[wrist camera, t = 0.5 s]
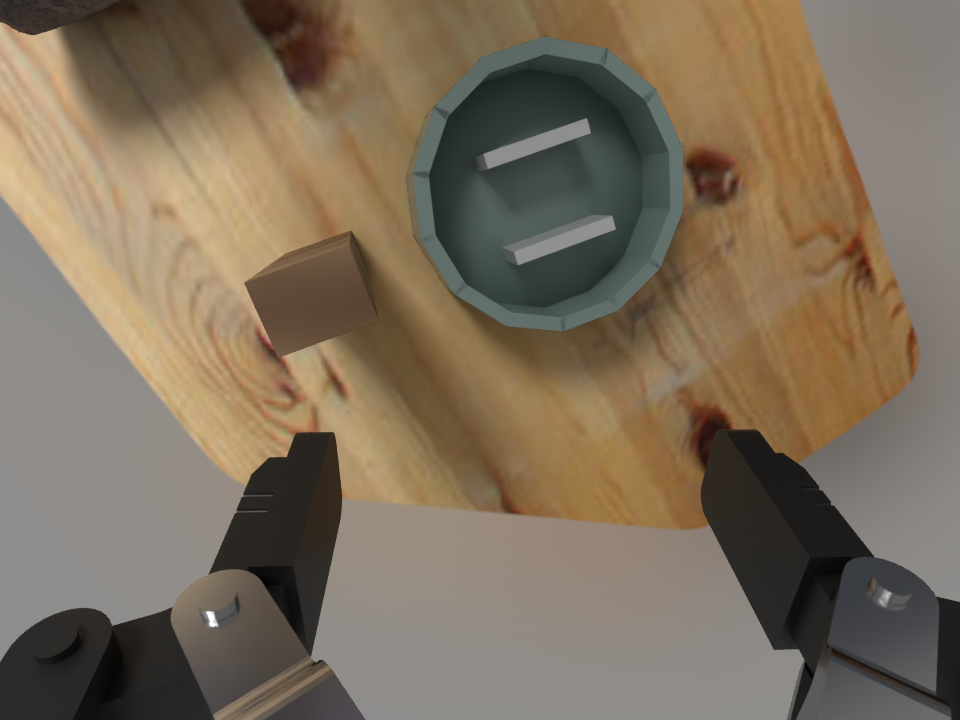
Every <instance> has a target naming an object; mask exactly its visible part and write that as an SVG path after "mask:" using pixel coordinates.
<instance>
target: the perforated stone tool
mask: <svg viewBox="0 0 960 720" xmlns="http://www.w3.org/2000/svg"><path fill="white" fill-rule="evenodd" d="M119 1H121V0H0V22H2V23H5V24H7V25H9V26H10V27H11V28H13V29H15V30H17V31H19V32H22V33H26V34H30V35H37V34H40V33H43V32H47V31H50V30H52V29H56V28H58V27H61V26H65V25H68V24H71V23H73V22H76V21H78V20H81V19H83V18H85V17H87V16H90V15H92V14H95V13H97V12H99V11H102V10H103V9H106V8H107V7H109V6H111V5H113V4H115V3H117V2H119Z"/></svg>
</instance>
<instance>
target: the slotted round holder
mask: <svg viewBox="0 0 960 720" xmlns="http://www.w3.org/2000/svg"><path fill="white" fill-rule="evenodd" d="M406 182H407V190H408V198H409V206H410V214H411V222H412V230H413V237H414V238H415V240H416V241H417V243H418V245H419V246H420V248H421V249H422V251H423V253H424V254H425V256H426V257H427V259H428V260H429V262H430V264H431V265H432V267H433V268H434V270H435V272H436V273H437V275H438V276H439V278H440V279H441V281H442V283H443V285H445V286H446V287H447V288H448V289H449V290H450V291H451V292H452V293H453V294H455V295H456V296H458V297H460V298H461V299H463V300H464V301H466V302H468V303H469V304H471V305H472V306H474V307H476V308H477V309H479V310H481V311H482V312H484V313H485V314H487V315H489V316H490V317H492V318H494V319H495V320H497V321H498V322H500V323H502V324H503V325H505V326H509V327H520V328H532V329H543V330H555V331H566V330H569V329H571V328H574V327H576V326H579V325H582V324H584V323H587V322H590V321H592V320H595V319H597V318H600V317H603V316H605V315H608V314H610V313H613V312H616V311H618V310H619V309H620V308H621V307H622V306H623V305H624V304H625V303H626V302H627V301H628V300H629V299H630V298H631V297H632V296H633V295H634V294H635V293H636V292H637V291H638V290H639V289H640V288H641V287H642V286H643V285H644V284H645V283H646V282H647V281H648V280H649V279H650V278H651V277H652V276H653V275H654V274H655V273H656V272H657V271H658V270H659V269H660V268H661V265H662V263H663V260H664V258H665V255H666V253H667V250H668V248H669V245H670V243H671V240H672V238H673V235H674V233H675V230H676V228H677V225H678V223H679V220H680V218H681V215H682V213H683V146H682V145H681V143H680V140H679V138H678V136H677V134H676V132H675V129H674V127H673V125H672V123H671V121H670V118H669V116H668V114H667V112H666V110H665V107H664V105H663V103H662V101H661V99H660V96H659V94H658V92H657V89H656V88H654V87H653V86H652V85H651V84H649V83H648V82H647V81H646V80H645V79H643V78H642V77H641V76H640V75H639V74H637V73H636V72H635V71H634V70H632V69H631V68H630V67H629V66H628V65H626V64H625V63H624V62H623V61H622V60H620V59H619V58H618V57H617V56H616V55H614V54H613V53H612V52H611V51H609V50H608V49H607V48H601V47H596V46H591V45H586V44H581V43H576V42H570V41H565V40H560V39H555V38H550V37H545V36H544V37H541V38H538V39H535V40H532V41H529V42H526V43H523V44H520V45H517V46H514V47H511V48H508V49H505V50H502V51H499V52H496V53H493V54H490V55H487V56H484V57H481V58H480V59H479V60H478V62H477V63H476V64H475V65H474V66H473V67H472V68H471V69H470V70H469V71H468V72H467V73H466V74H465V75H464V76H463V77H462V78H461V79H460V80H459V81H458V82H457V84H456V85H455V86H454V87H453V88H452V89H451V90H450V91H449V92H448V93H447V94H446V95H445V96H444V97H443V98H442V99H441V100H440V101H439V102H438V103H437V104H436V105H435V106H434V107H433V108H432V110H431V111H430V112H429V113H428V115H427V116H426V117H425V119H424V122H423V125H422V128H421V131H420V134H419V138H418V141H417V144H416V147H415V150H414V153H413V156H412V159H411V162H410V166H409V169H408V172H407V175H406Z"/></svg>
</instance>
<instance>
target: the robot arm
mask: <svg viewBox="0 0 960 720" xmlns="http://www.w3.org/2000/svg"><path fill="white" fill-rule="evenodd" d="M701 503H702V508H703V512H704V514H705V517H706V519H707V521H708V523H709V525H710V526H711V528H712V530H713V532H714V534H715V536H716V538H717V540H718V542H719V544H720V546H721V548H722V550H723V552H724V554H725V555H726V558H727V559H728V561H729V563H730V565H731V567H732V569H733V571H734V573H735V575H736V577H737V579H738V581H739V583H740V585H741V586H742V589H743V591H744V592H745V594H746V596H747V598H748V600H749V602H750V604H751V606H752V608H753V610H754V612H755V614H756V615H757V618H758V620H759V621H760V624H761V625H762V627H763V629H764V631H765V633H766V635H767V637H768V639H769V641H770V643H771V645H772V647H773V649H774V650H784V649H799V650H800V652H801V654H802V656H803V658H804V662H803V664H802V666H801V669H800V671H799V675H798V679H797V682H796V687H795V690H794V694H793V698H792V702H791V706H790V710H789V714H788V718H787V720H960V602H957V601H953V600H949V599H944V598H940V597H936V596H935V594H934V592H933V591H932V590H931V589H930V587H929V586H928V585H927V584H926V583H925V582H924V581H923V580H922V579H920V578H919V577H918V576H917V575H915V574H914V573H912V572H911V571H909V570H908V569H905V568H904V567H902V566H900V565H898V564H896V563H893V562H890V561H887V560H884V559H880V558H875V557H874V556H873V555H872V553H871V552H870V551H869V549H868V548H867V547H866V546H865V544H864V543H863V542H862V541H861V539H860V538H859V537H858V536H857V534H856V533H855V532H854V530H853V529H852V528H851V527H850V525H849V524H848V523H847V522H846V520H845V519H844V518H843V516H842V515H841V514H840V513H839V511H838V510H837V509H836V508H835V506H831V501H830V500H829V499H828V497H827V496H826V495H825V494H824V492H823V491H822V490H821V491H820V490H819V486H818V485H817V484H816V482H815V481H814V480H813V478H812V477H811V476H810V475H809V473H808V472H807V471H806V470H805V469H804V468H803V467H802V466H800V465H799V464H797V463H796V462H795V461H793V460H792V459H790V458H789V457H788V456H786V455H785V454H783V453H775V452H774V451H773V449H772V448H771V447H770V445H769V444H768V443H767V441H766V440H765V439H764V437H763V436H762V435H761V433H760V432H759V431H757V430H719V431H717V432H716V434H715V436H714V439H713V443H712V447H711V450H710V454H709V458H708V462H707V466H706V470H705V474H704V478H703V482H702V487H701ZM341 508H342V490H341V481H340V472H339V463H338V454H337V445H336V438H335V434H334V433H333V432H306V433H296V434H295V436H294V439H293V442H292V444H291V447H290V450H289V453H288V455H287V457H269V458H268V459H267V460H266V461H265V462H264V463H263V464H262V465H261V466H260V467H259V468H258V469H257V470H256V471H255V472H254V473H253V474H252V475H251V477H250V480H249V482H248V484H247V487H246V489H245V491H244V496H243V497H242V498H241V501H240V503H239V505H238V507H237V513H235V515H234V517H233V519H232V521H231V524H230V526H229V528H228V531H227V533H226V535H225V538H224V540H223V542H222V545H221V547H220V549H219V552H218V554H217V556H216V559H215V561H214V564H213V566H212V568H211V570H210V573H209V574H208V575H207V576H204V577H202V578H200V579H199V580H197V581H195V582H194V583H193V584H191V585H190V586H189V587H188V588H187V589H185V590H184V591H183V593H182V594H181V595H180V596H179V597H178V599H177V600H176V602H175V604H174V606H173V607H172V608H169V609H167V610H165V611H162V612H159V613H156V614H153V615H149V616H146V617H142V618H139V619H135V620H132V621H128V622H124V623H121V624H118V625H114V626H112V625H111V622H110V620H109V618H108V617H107V616H106V615H105V614H104V613H102V612H101V611H98V610H95V609H90V608H77V609H70V610H66V611H63V612H60V613H57V614H54V615H52V616H50V617H48V618H45V619H43V620H42V621H40V622H38V623H36V624H35V625H34V626H32V627H31V628H30V629H28V630H26V631H25V632H24V633H23V634H22V635H21V636H20V637H19V638H18V639H17V640H16V641H15V642H14V643H13V644H12V645H11V647H10V648H9V650H8V651H7V653H6V654H5V656H4V657H3V659H2V660H1V662H0V720H365V718H364V717H363V715H362V714H361V712H360V711H359V709H358V708H357V706H356V705H355V703H354V702H353V700H352V699H351V697H350V696H349V694H348V693H347V691H346V690H345V688H344V687H343V685H342V684H341V682H340V681H339V679H338V678H337V676H336V675H335V673H334V672H333V670H332V669H331V668H330V667H329V665H328V664H327V663H326V662H325V661H323V660H319V661H318V662H316V663H315V662H314V661H313V659H312V658H311V654H312V650H313V645H314V640H315V636H316V631H317V626H318V621H319V616H320V612H321V608H322V603H323V598H324V593H325V589H326V584H327V579H328V575H329V570H330V566H331V561H332V556H333V551H334V547H335V542H336V538H337V533H338V528H339V524H340V518H341Z"/></svg>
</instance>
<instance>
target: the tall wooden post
mask: <svg viewBox="0 0 960 720" xmlns="http://www.w3.org/2000/svg"><path fill="white" fill-rule="evenodd" d="M244 284H245V286H246V288H247V290H248V293H249V295H250V297H251V299H252V301H253V304H254V306H255V308H256V310H257V312H258V315H259V317H260V319H261V321H262V323H263V326H264V328H265V330H266V332H267V335H268V337H269V339H270V341H271V343H272V346H273V348H274V350H275V352H276V354H277V357H278V358H279V357H282V356H285V355H287V354H290V353H293V352H295V351H298V350H301V349H304V348H306V347H309V346H312V345H314V344H317V343H320V342H323V341H325V340H328V339H331V338H333V337H336V336H339V335H341V334H344V333H347V332H350V331H352V330H355V329H358V328H360V327H363V326H366V325H369V324H371V323H374V322H377V321H378V316H377V311H376V306H375V301H374V296H373V291H372V286H371V281H370V278H369V275H368V272H367V270H366V267H365V265H364V262H363V260H362V257H361V254H360V252H359V249H358V247H357V244H356V242H355V239H354V236H353V234H352V231H349V232H346V233H343V234H341V235H338V236H335V237H332V238H329V239H326V240H323V241H321V242H318V243H315V244H312V245H309V246H306V247H304V248H301V249H298V250H295V251H292V252H289V253H287V254H285V255H283V256H282V257H280V258H279V259H278V260H276V261H275V262H273V263H272V264H270V265H269V266H268V267H266V268H265V269H263V270H262V271H261V272H259V273H258V274H256V275H255V276H253V277H252V278H251V279H249V280H248V281H246V282H245V283H244Z"/></svg>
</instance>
